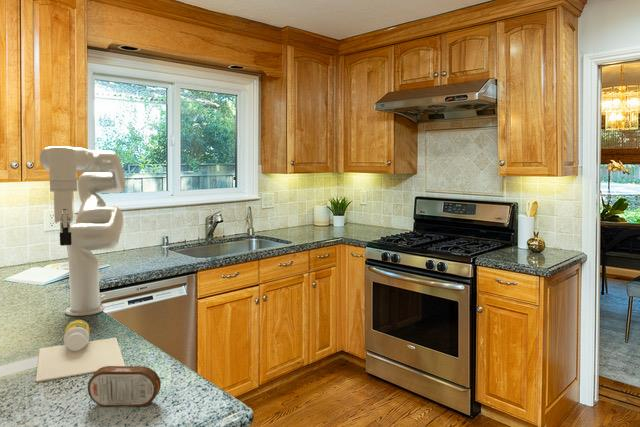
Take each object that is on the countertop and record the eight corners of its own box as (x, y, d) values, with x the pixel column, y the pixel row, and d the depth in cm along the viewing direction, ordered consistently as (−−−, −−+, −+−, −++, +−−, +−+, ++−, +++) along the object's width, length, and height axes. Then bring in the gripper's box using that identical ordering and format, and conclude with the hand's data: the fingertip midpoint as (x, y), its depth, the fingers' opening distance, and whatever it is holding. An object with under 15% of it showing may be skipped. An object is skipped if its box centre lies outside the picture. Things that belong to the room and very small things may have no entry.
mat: (39, 349, 138) (39, 348, 138) (116, 338, 147) (116, 337, 147) (35, 382, 116) (35, 380, 116) (125, 367, 126) (125, 365, 126)
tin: (161, 401, 108) (160, 364, 107) (157, 408, 105) (156, 370, 104) (92, 401, 107) (91, 364, 106) (86, 408, 104) (84, 370, 103)
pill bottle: (93, 321, 146) (92, 333, 135) (85, 342, 145) (84, 356, 135) (69, 316, 143) (68, 328, 132) (61, 337, 142) (59, 351, 132)
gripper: (50, 186, 157) (52, 242, 158) (49, 187, 143) (51, 249, 145) (76, 185, 160) (78, 241, 162) (77, 187, 147) (79, 247, 149)
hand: (65, 244), depth 153 cm, fingers closed
